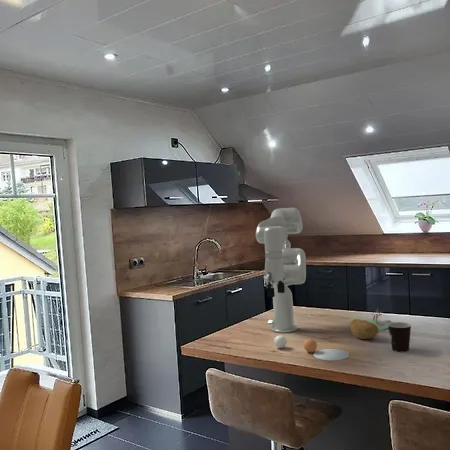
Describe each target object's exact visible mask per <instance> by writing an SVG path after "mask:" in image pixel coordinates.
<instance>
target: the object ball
mask: <svg viewBox="0 0 450 450" xmlns="http://www.w3.org/2000/svg"><path fill="white" fill-rule="evenodd" d="M317 348H318V344H317V341H316V340H314V339H313V338H308V339H306V340H305V341H304V342H303V349H304V350H305V351H306V352H307V353H315V352H316V350H317Z"/></svg>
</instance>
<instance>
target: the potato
mask: <svg viewBox="0 0 450 450" xmlns="http://www.w3.org/2000/svg"><path fill="white" fill-rule="evenodd" d="M360 319H361V318H360ZM360 319H355V318H354V320H353V319H352V320H351V321H349V329H350V332H351V333H352V334H353V335H354V336H356V338H358V339H361V340H372V339H374V338H375V337H376V336H377V335H378V334H379V330H378V327H377V326H376V325H375V324H374V323H371V322H368V321H364V320H360Z"/></svg>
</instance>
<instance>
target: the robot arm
mask: <svg viewBox="0 0 450 450" xmlns="http://www.w3.org/2000/svg"><path fill="white" fill-rule="evenodd" d="M303 226H304V225H303V218H302V215H301V212H300V210H299V209H298V208H296V207H281V208H276V209H274V210H273V211H272V212H271V215H270V217H269V218H267V219H266V220H262V221H260V222H259V223H258V225H257V227H256V230H255V239H256V241H257V242H258V243H259V244H264V254H265V255H264V258H265V263H264V282H265V285H266V295H267V298H272V305H273V319H268V320H267V321H268V322H267V325H271V331H272V332H274V333H291V332H295V331H297V330H298V326H297V325H296V324H295V320H294V318H295V317H294V302H293V293H292V291H291V289H290V288H289V287H288V286H289V285H290V286H291V285H302V284H305V282H306V280H307V279H306V278H307V266H306V265H307V263H306V262H307V261H306V260H307V257H306V252H305V251H304V249H302V248H299V247H292V248H291V246H292V245H291V242H290V240H289V239H288V237H289V235H295V234H301V232H302V231H303V229H304V228H303Z"/></svg>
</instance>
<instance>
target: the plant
mask: <svg viewBox="0 0 450 450" xmlns="http://www.w3.org/2000/svg"><path fill="white" fill-rule="evenodd" d="M378 310H379V307H377V309H376V310H375V313H374V312H372V313H371V315H372V316H373V317H372V319H369V318H359V317H358V318H357V317H356V318H354V319H360V320H364V321H368V322H371V323H374V324H375V325H376V326H377V327H378V331H381V330H382V331H383V330H386V329H389V328H388V324H389V323H394V322H393V321H392V320H391V319H385V320H381V319H379V317H381V316H382V315H383V311H378ZM354 319H352V320H354Z"/></svg>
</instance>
